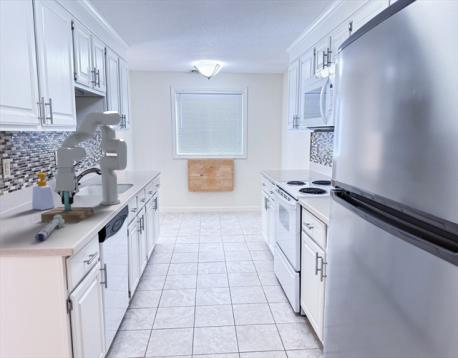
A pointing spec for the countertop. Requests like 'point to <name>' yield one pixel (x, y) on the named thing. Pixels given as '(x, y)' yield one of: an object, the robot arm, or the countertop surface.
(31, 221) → the countertop surface
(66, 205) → the peg
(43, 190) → the soap bottle
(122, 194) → the countertop surface
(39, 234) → the white handheld massager
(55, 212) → the socket block
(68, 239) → the countertop surface
